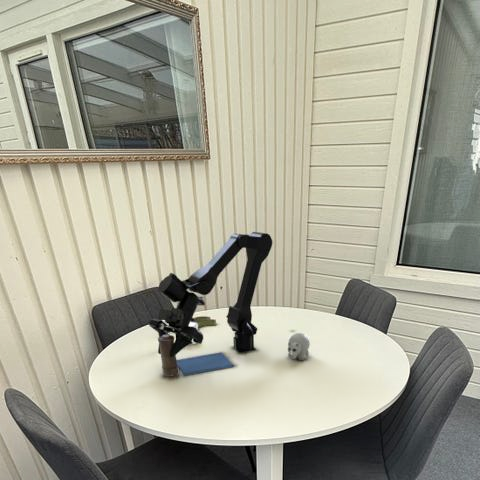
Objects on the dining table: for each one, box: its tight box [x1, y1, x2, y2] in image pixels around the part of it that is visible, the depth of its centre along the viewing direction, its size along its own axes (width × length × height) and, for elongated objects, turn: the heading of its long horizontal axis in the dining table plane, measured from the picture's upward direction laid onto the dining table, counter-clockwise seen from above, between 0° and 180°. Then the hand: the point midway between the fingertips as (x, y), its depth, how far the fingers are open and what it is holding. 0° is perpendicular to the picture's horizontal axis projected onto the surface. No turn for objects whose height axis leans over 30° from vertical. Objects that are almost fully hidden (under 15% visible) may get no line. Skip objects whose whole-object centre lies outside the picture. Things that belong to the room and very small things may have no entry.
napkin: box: [176, 352, 235, 377], centre depth 140 cm, size 17×13×1 cm
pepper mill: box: [157, 334, 179, 377], centre depth 129 cm, size 5×5×12 cm
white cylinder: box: [188, 322, 198, 346], centre depth 156 cm, size 7×7×7 cm
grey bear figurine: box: [287, 332, 311, 361], centre depth 138 cm, size 7×12×8 cm, turn 152°
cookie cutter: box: [193, 315, 217, 331], centre depth 172 cm, size 18×12×2 cm, turn 149°
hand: (164, 355), depth 128 cm, fingers closed on pepper mill, 4 cm apart
